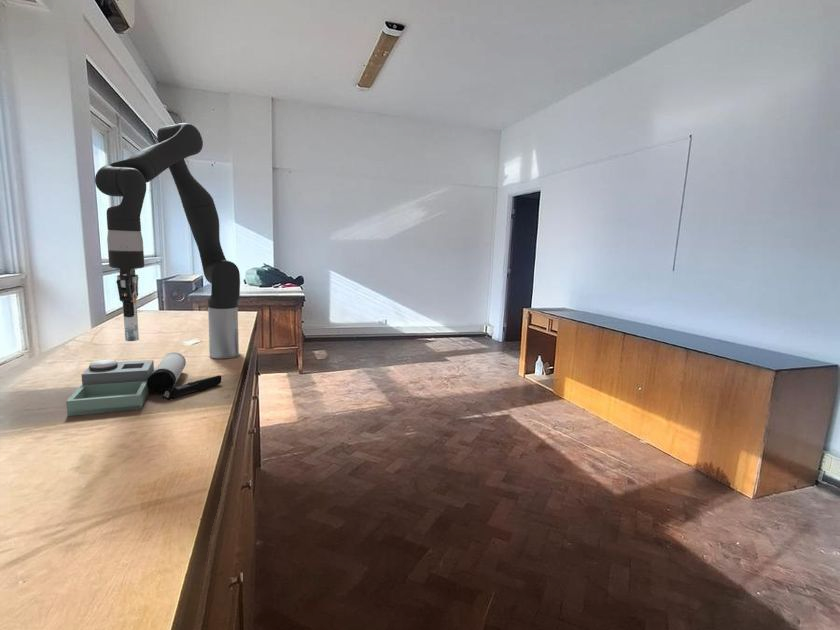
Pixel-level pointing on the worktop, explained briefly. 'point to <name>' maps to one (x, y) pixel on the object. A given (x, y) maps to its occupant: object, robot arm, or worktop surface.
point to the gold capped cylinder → (131, 325)
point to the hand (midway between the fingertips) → (130, 315)
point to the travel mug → (166, 373)
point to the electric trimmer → (191, 387)
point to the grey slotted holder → (117, 372)
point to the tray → (107, 398)
